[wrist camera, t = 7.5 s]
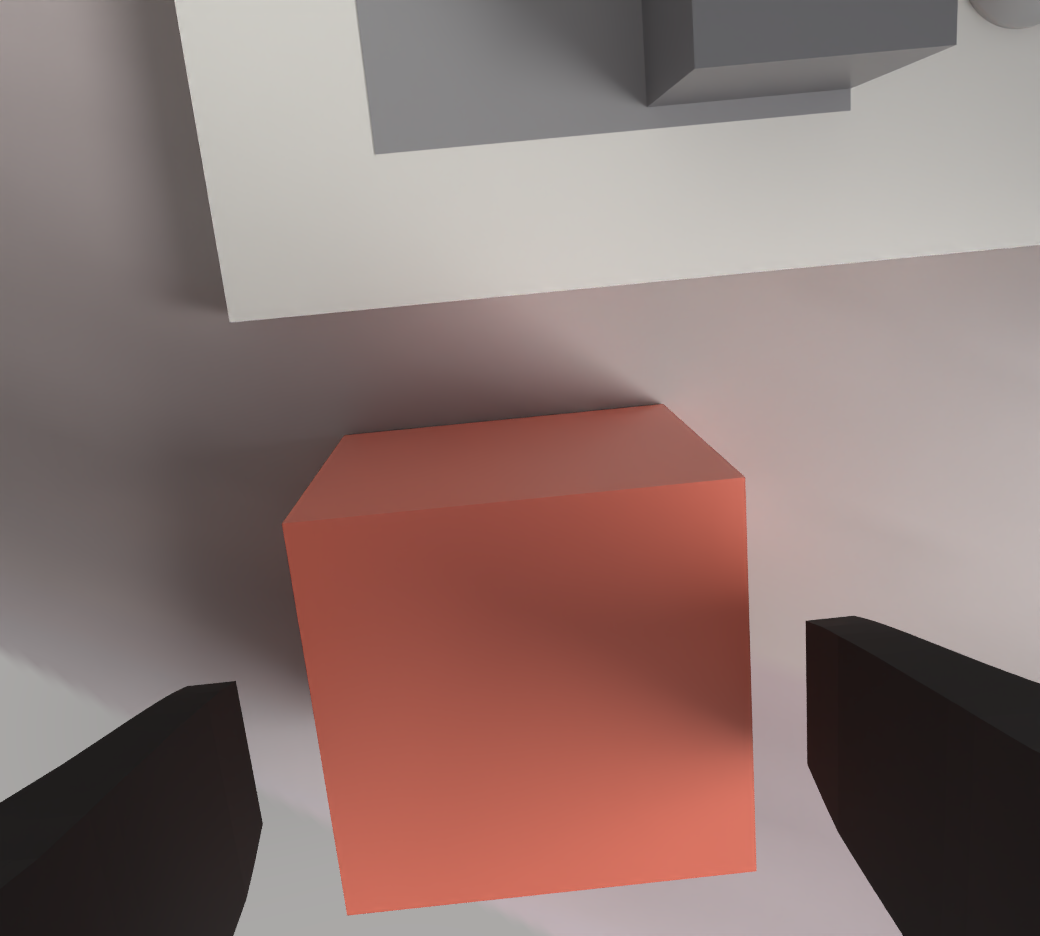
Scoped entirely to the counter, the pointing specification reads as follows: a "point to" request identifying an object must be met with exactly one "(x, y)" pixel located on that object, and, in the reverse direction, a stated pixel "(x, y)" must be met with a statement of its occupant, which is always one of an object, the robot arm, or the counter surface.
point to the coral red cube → (528, 656)
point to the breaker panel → (601, 141)
